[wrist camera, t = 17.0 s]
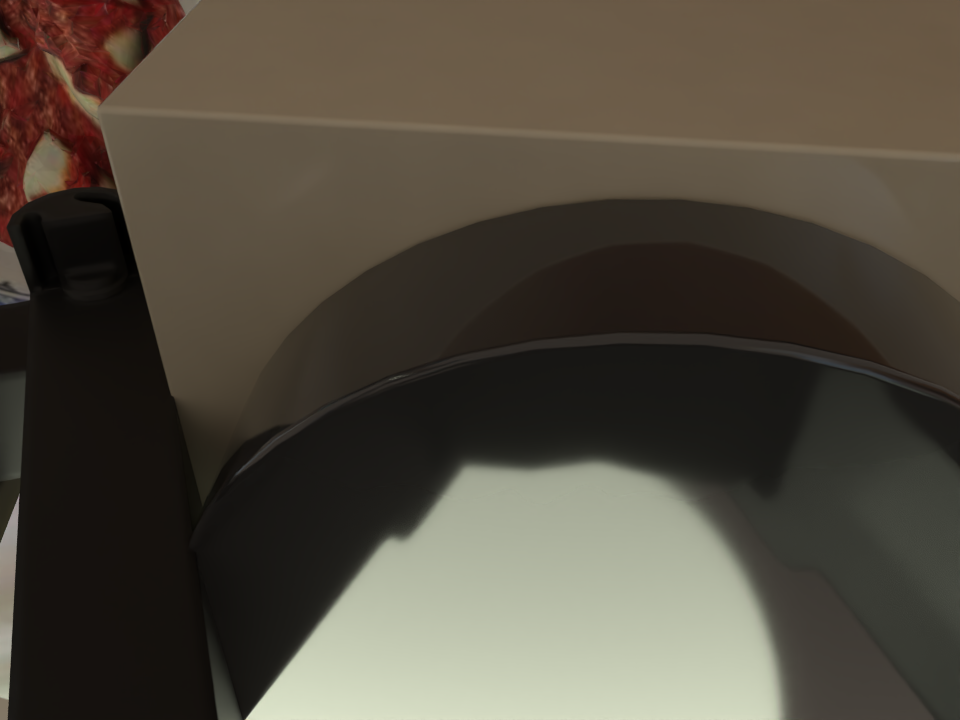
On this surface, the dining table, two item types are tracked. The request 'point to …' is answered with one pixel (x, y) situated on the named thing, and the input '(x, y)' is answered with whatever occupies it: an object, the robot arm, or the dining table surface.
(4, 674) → the dining table surface
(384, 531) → the beige box
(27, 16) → the ceramic plate
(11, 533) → the dining table surface
